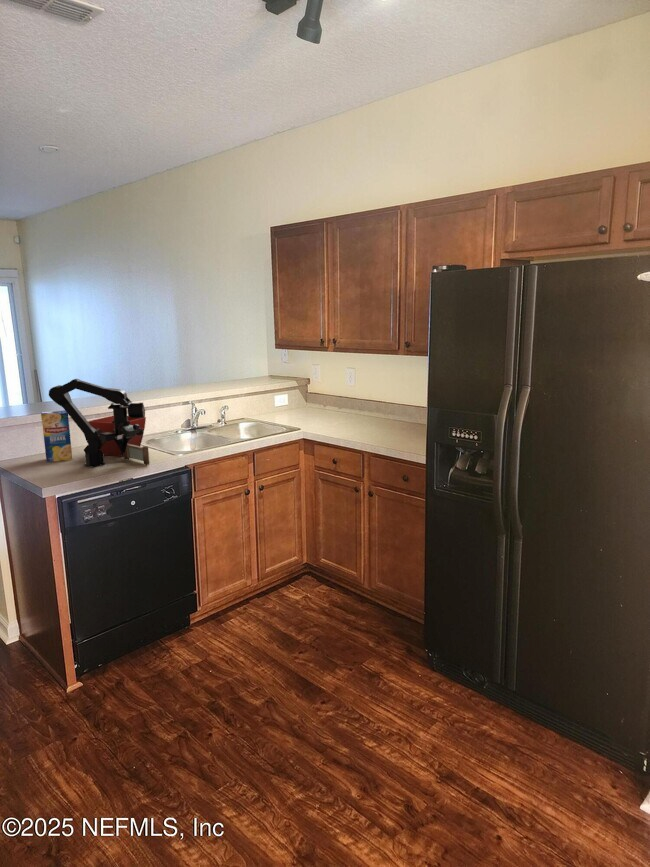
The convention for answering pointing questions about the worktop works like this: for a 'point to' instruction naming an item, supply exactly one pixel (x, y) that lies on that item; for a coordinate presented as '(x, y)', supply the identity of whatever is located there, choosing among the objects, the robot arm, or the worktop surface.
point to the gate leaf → (134, 452)
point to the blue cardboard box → (56, 435)
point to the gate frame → (145, 455)
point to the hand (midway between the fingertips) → (123, 452)
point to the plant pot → (108, 426)
